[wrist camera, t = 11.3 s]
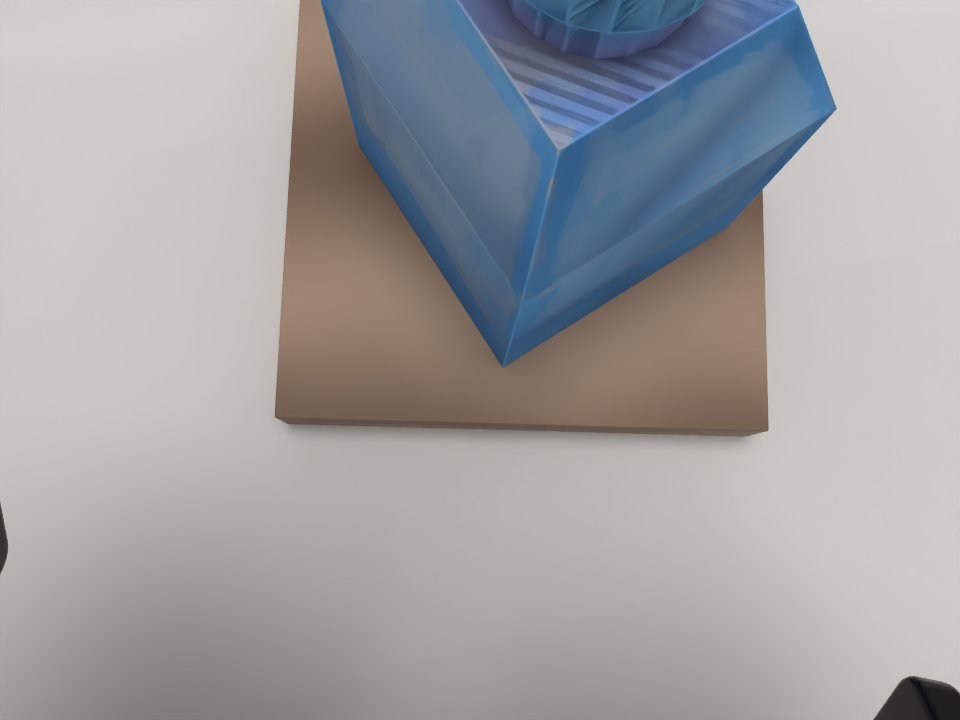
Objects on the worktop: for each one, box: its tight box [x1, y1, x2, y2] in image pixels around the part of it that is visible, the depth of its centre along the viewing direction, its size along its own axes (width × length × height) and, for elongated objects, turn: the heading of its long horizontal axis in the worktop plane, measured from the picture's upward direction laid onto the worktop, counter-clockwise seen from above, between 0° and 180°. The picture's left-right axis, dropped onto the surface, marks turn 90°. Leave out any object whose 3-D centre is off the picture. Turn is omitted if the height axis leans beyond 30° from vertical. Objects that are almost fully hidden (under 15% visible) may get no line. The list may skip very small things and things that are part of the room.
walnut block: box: [275, 0, 768, 436], centre depth 23 cm, size 11×11×2 cm
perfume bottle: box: [320, 0, 837, 367], centre depth 15 cm, size 6×6×12 cm
